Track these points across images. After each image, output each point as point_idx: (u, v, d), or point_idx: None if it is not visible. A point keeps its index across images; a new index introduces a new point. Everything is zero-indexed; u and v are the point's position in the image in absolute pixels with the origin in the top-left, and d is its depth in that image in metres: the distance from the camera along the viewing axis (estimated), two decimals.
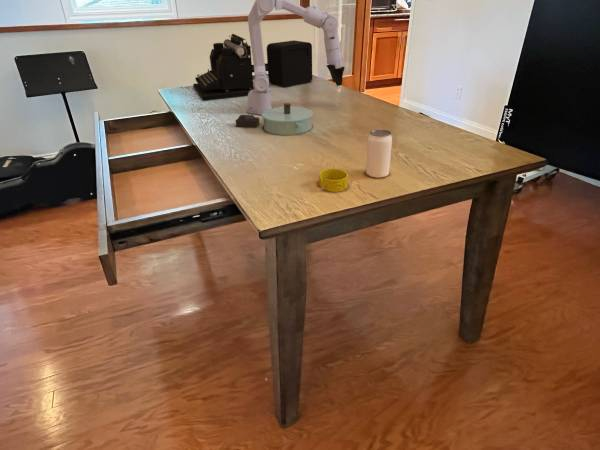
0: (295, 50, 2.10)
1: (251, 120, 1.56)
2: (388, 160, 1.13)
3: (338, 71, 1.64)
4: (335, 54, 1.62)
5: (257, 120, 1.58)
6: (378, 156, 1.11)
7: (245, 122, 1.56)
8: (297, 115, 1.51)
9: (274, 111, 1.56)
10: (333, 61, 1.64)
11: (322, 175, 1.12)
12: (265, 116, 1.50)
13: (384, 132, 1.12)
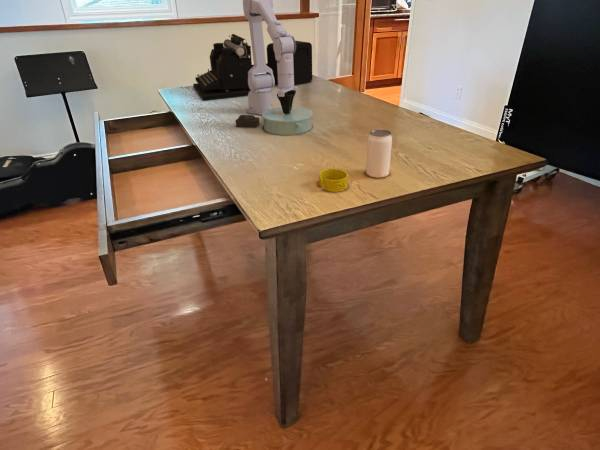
0: None
1: (251, 120, 1.56)
2: (388, 160, 1.13)
3: (286, 98, 1.49)
4: (284, 80, 1.45)
5: (257, 120, 1.58)
6: (378, 156, 1.11)
7: (245, 122, 1.56)
8: (297, 115, 1.51)
9: (274, 111, 1.56)
10: (281, 87, 1.46)
11: (322, 175, 1.12)
12: (265, 116, 1.51)
13: (384, 132, 1.12)
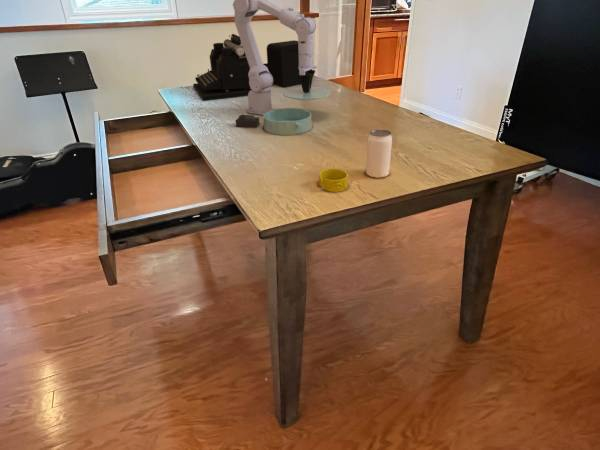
0: (295, 50, 2.10)
1: (251, 120, 1.56)
2: (388, 160, 1.13)
3: (306, 77, 1.57)
4: (305, 60, 1.53)
5: (257, 120, 1.58)
6: (378, 156, 1.11)
7: (245, 122, 1.56)
8: (317, 93, 1.59)
9: (294, 90, 1.64)
10: (302, 67, 1.54)
11: (322, 175, 1.12)
12: (286, 94, 1.59)
13: (384, 132, 1.12)
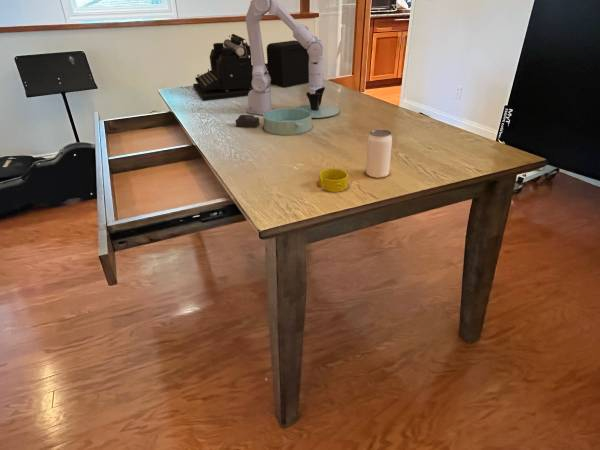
0: (295, 50, 2.10)
1: (251, 120, 1.56)
2: (388, 160, 1.13)
3: (314, 96, 1.65)
4: (315, 79, 1.63)
5: (257, 120, 1.58)
6: (378, 156, 1.11)
7: (245, 122, 1.56)
8: (325, 111, 1.69)
9: (303, 108, 1.74)
10: (312, 85, 1.64)
11: (322, 175, 1.12)
12: None
13: (384, 132, 1.12)
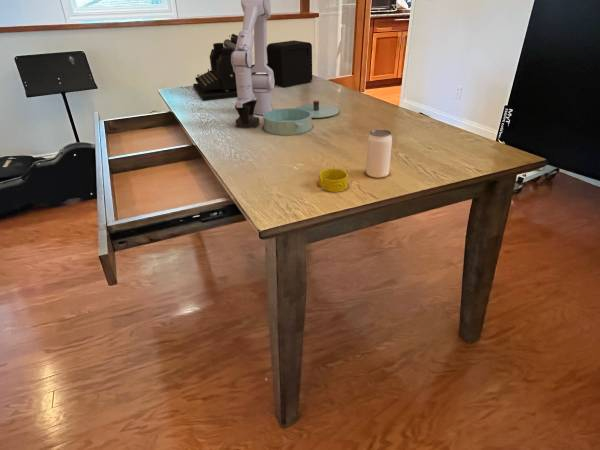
0: (295, 50, 2.10)
1: (251, 120, 1.56)
2: (388, 160, 1.13)
3: (244, 109, 1.53)
4: (242, 92, 1.50)
5: (257, 120, 1.58)
6: (378, 156, 1.11)
7: None
8: (325, 111, 1.69)
9: (303, 108, 1.74)
10: (240, 98, 1.52)
11: (322, 175, 1.12)
12: None
13: (384, 132, 1.12)
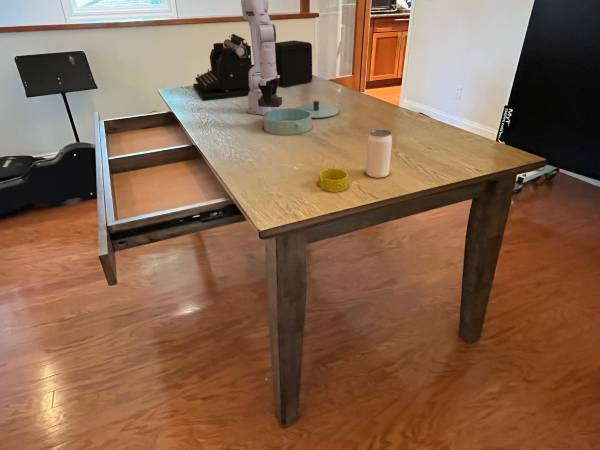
0: (295, 50, 2.10)
1: (274, 99, 1.50)
2: (388, 160, 1.13)
3: (267, 88, 1.47)
4: (266, 69, 1.44)
5: (280, 100, 1.52)
6: (378, 156, 1.11)
7: None
8: (325, 111, 1.69)
9: (303, 108, 1.74)
10: (263, 76, 1.46)
11: (322, 175, 1.12)
12: None
13: (384, 132, 1.12)
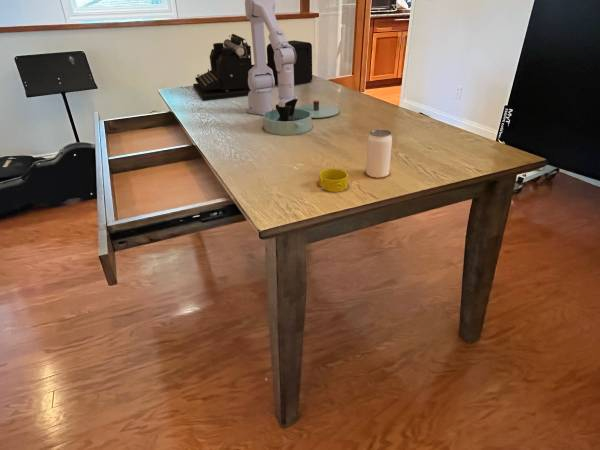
0: (295, 50, 2.10)
1: None
2: (388, 160, 1.13)
3: (284, 109, 1.48)
4: (285, 90, 1.46)
5: None
6: (378, 156, 1.11)
7: None
8: (325, 111, 1.69)
9: (303, 108, 1.74)
10: (282, 97, 1.48)
11: (322, 175, 1.12)
12: None
13: (384, 132, 1.12)
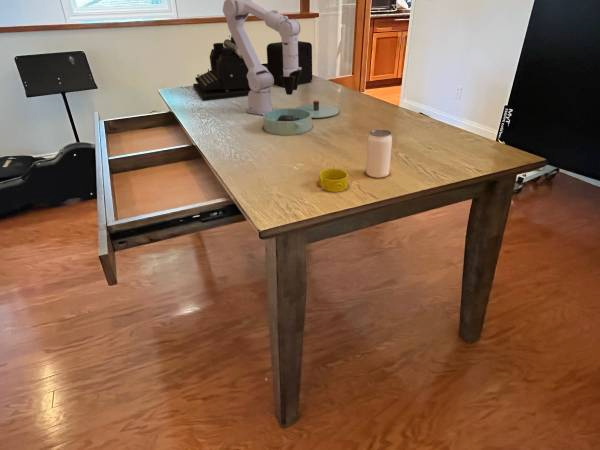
0: None
1: None
2: (388, 160, 1.13)
3: (289, 79, 1.56)
4: (289, 61, 1.54)
5: None
6: (378, 156, 1.11)
7: None
8: (325, 111, 1.69)
9: (303, 108, 1.74)
10: (286, 68, 1.55)
11: (322, 175, 1.12)
12: None
13: (384, 132, 1.12)
